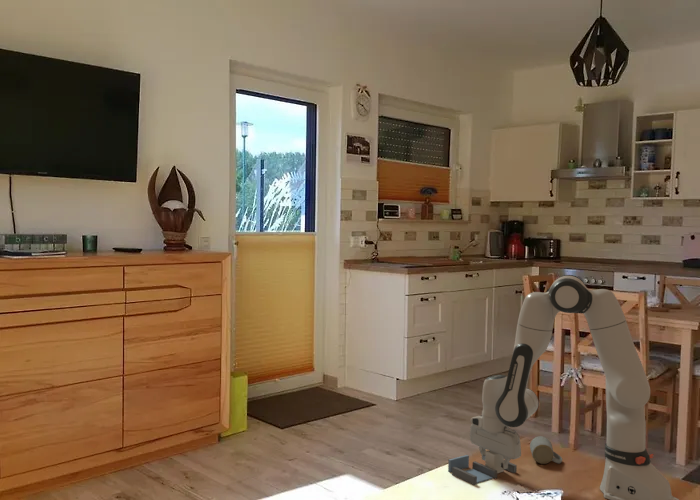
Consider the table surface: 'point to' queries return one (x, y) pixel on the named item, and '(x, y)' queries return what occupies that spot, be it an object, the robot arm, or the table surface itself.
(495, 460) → the cord plug
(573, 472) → the table surface
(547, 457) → the ceramic mug
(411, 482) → the table surface
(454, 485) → the table surface
